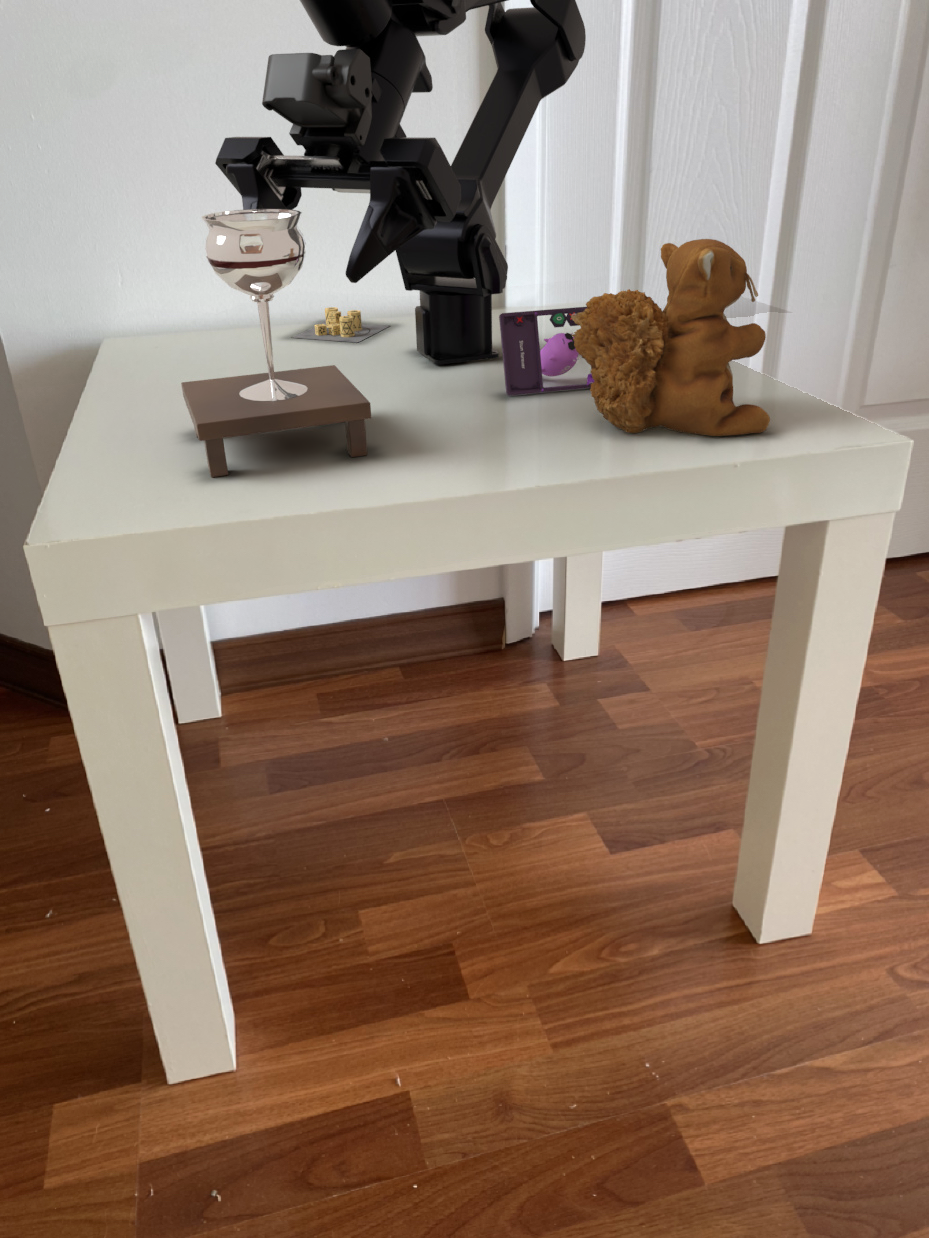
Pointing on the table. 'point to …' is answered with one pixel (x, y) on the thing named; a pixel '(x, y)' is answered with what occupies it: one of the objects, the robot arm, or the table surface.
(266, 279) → the wineglass
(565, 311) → the game card
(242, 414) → the side table
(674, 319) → the stuffed squirrel
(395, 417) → the table surface
